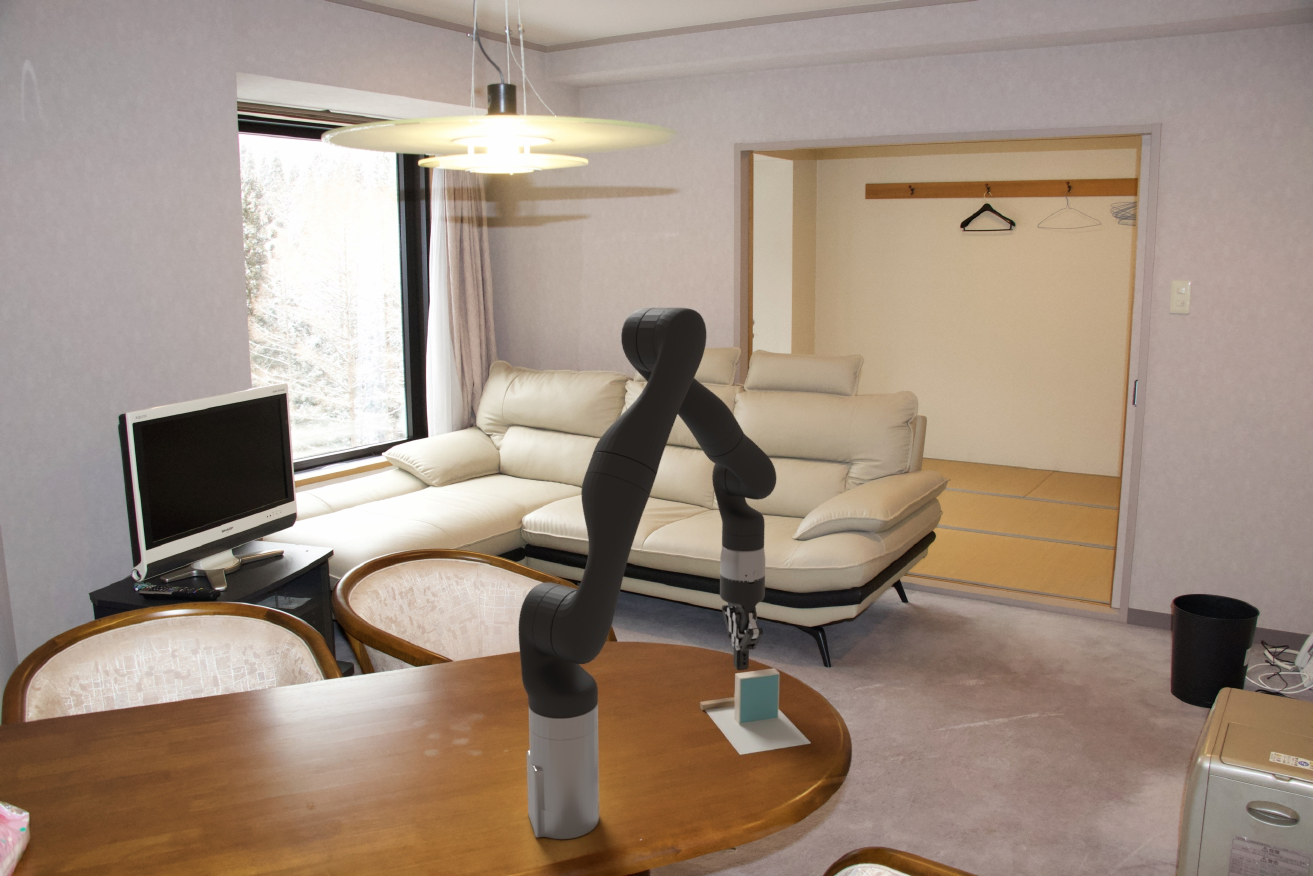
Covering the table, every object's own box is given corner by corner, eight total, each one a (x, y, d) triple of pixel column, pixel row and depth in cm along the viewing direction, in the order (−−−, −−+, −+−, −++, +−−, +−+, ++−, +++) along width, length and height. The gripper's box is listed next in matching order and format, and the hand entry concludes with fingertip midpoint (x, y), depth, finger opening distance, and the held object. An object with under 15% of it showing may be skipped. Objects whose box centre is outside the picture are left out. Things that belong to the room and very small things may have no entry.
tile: (739, 724, 157) (740, 678, 156) (734, 719, 159) (735, 673, 158) (778, 718, 159) (779, 673, 158) (773, 713, 161) (774, 668, 160)
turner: (706, 715, 160) (706, 710, 160) (696, 702, 165) (696, 697, 165) (772, 705, 164) (772, 700, 164) (760, 693, 169) (760, 688, 168)
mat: (739, 758, 148) (740, 754, 148) (699, 706, 165) (699, 703, 165) (810, 746, 151) (811, 743, 151) (764, 697, 168) (764, 694, 168)
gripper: (707, 561, 167) (706, 655, 170) (736, 586, 154) (735, 687, 158) (747, 557, 169) (746, 650, 172) (779, 581, 156) (777, 681, 160)
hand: (741, 668), depth 165 cm, fingers closed
